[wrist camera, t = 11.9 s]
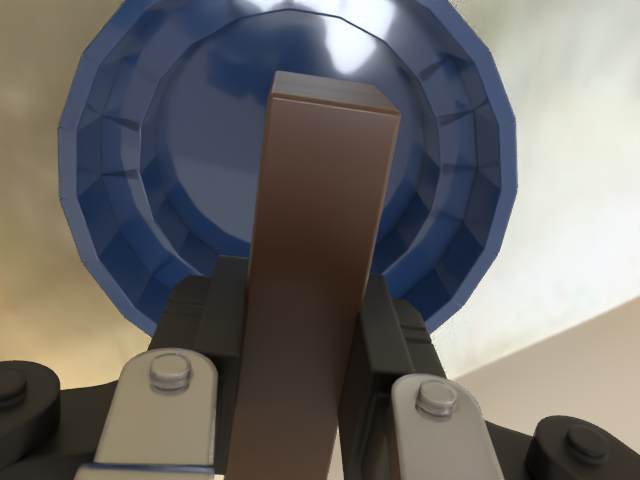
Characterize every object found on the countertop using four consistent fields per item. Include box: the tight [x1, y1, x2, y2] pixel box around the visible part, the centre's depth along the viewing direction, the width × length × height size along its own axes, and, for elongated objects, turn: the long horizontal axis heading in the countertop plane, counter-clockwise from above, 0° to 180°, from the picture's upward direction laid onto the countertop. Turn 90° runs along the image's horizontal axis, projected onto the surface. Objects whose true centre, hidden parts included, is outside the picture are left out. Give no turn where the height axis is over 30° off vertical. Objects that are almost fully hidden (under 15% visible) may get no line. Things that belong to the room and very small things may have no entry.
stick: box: [224, 70, 401, 480], centre depth 11 cm, size 9×2×3 cm, turn 171°
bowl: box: [58, 0, 518, 338], centre depth 22 cm, size 15×15×6 cm
